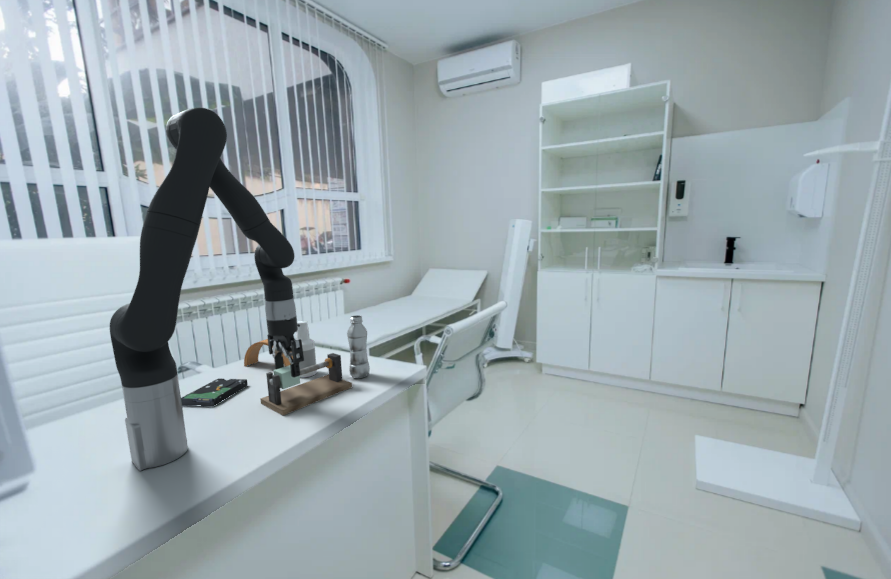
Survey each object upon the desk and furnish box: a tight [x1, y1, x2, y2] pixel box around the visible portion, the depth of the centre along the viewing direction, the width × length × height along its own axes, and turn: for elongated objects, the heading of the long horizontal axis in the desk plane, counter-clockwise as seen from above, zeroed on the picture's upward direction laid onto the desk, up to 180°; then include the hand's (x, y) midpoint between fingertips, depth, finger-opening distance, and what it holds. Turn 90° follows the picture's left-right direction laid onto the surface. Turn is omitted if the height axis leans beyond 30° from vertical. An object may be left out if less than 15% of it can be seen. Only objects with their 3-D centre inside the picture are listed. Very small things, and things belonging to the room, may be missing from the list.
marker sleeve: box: [272, 365, 301, 390], centre depth 105 cm, size 5×4×4 cm
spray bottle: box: [295, 320, 318, 379], centre depth 126 cm, size 7×7×18 cm
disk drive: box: [181, 377, 248, 407], centre depth 112 cm, size 10×3×15 cm
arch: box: [243, 338, 293, 367], centre depth 135 cm, size 6×20×10 cm, turn 68°
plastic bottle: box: [346, 315, 371, 379], centre depth 122 cm, size 6×7×20 cm
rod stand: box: [259, 352, 353, 416], centre depth 110 cm, size 22×12×10 cm, turn 141°
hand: (287, 373), depth 105 cm, fingers open, 8 cm apart
